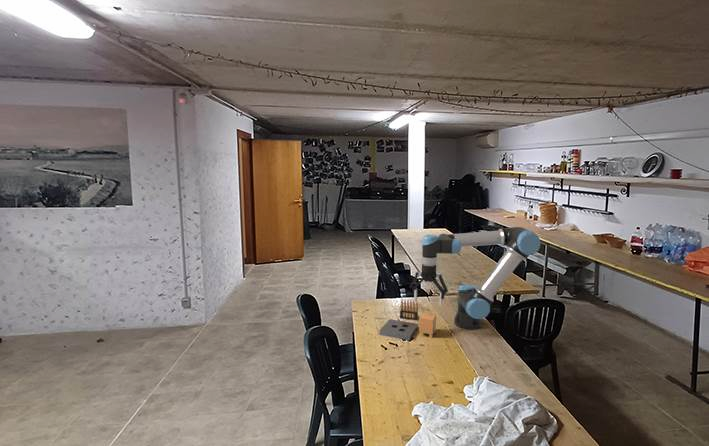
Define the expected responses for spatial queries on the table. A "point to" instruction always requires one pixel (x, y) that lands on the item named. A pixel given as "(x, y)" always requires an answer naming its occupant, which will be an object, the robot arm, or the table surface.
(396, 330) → the socket plate
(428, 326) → the cardboard-colored brick
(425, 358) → the table surface
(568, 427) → the table surface
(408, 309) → the ammunition clip
